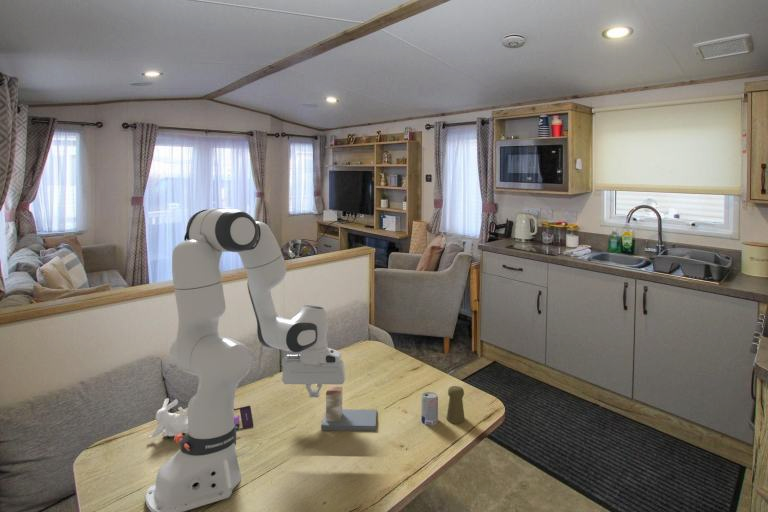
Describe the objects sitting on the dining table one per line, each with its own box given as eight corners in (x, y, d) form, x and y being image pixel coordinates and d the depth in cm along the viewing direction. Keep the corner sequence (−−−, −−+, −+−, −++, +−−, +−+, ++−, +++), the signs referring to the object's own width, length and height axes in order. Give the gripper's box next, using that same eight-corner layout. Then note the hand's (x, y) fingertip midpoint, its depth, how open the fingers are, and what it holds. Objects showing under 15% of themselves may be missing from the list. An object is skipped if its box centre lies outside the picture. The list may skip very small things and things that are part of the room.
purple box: (253, 425, 134) (223, 432, 130) (252, 430, 138) (223, 437, 134) (250, 404, 137) (220, 411, 133) (249, 410, 141) (220, 416, 137)
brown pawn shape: (445, 422, 138) (445, 389, 137) (447, 414, 144) (448, 383, 143) (463, 425, 136) (464, 391, 135) (465, 417, 142) (466, 385, 141)
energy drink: (427, 426, 143) (427, 390, 142) (440, 430, 139) (441, 394, 139) (418, 431, 138) (418, 395, 138) (432, 436, 135) (432, 399, 135)
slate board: (376, 413, 144) (376, 409, 144) (375, 430, 132) (375, 425, 132) (326, 413, 144) (326, 409, 144) (321, 430, 132) (321, 425, 132)
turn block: (326, 421, 135) (326, 393, 135) (328, 413, 141) (328, 386, 141) (340, 421, 135) (340, 393, 135) (342, 413, 141) (342, 386, 141)
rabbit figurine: (146, 438, 127) (145, 407, 126) (155, 427, 134) (154, 397, 133) (189, 435, 128) (188, 404, 128) (195, 424, 136) (195, 395, 135)
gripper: (279, 357, 134) (279, 400, 135) (343, 357, 134) (344, 400, 135) (284, 352, 140) (284, 392, 141) (345, 352, 140) (346, 393, 141)
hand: (314, 396), depth 138 cm, fingers closed
